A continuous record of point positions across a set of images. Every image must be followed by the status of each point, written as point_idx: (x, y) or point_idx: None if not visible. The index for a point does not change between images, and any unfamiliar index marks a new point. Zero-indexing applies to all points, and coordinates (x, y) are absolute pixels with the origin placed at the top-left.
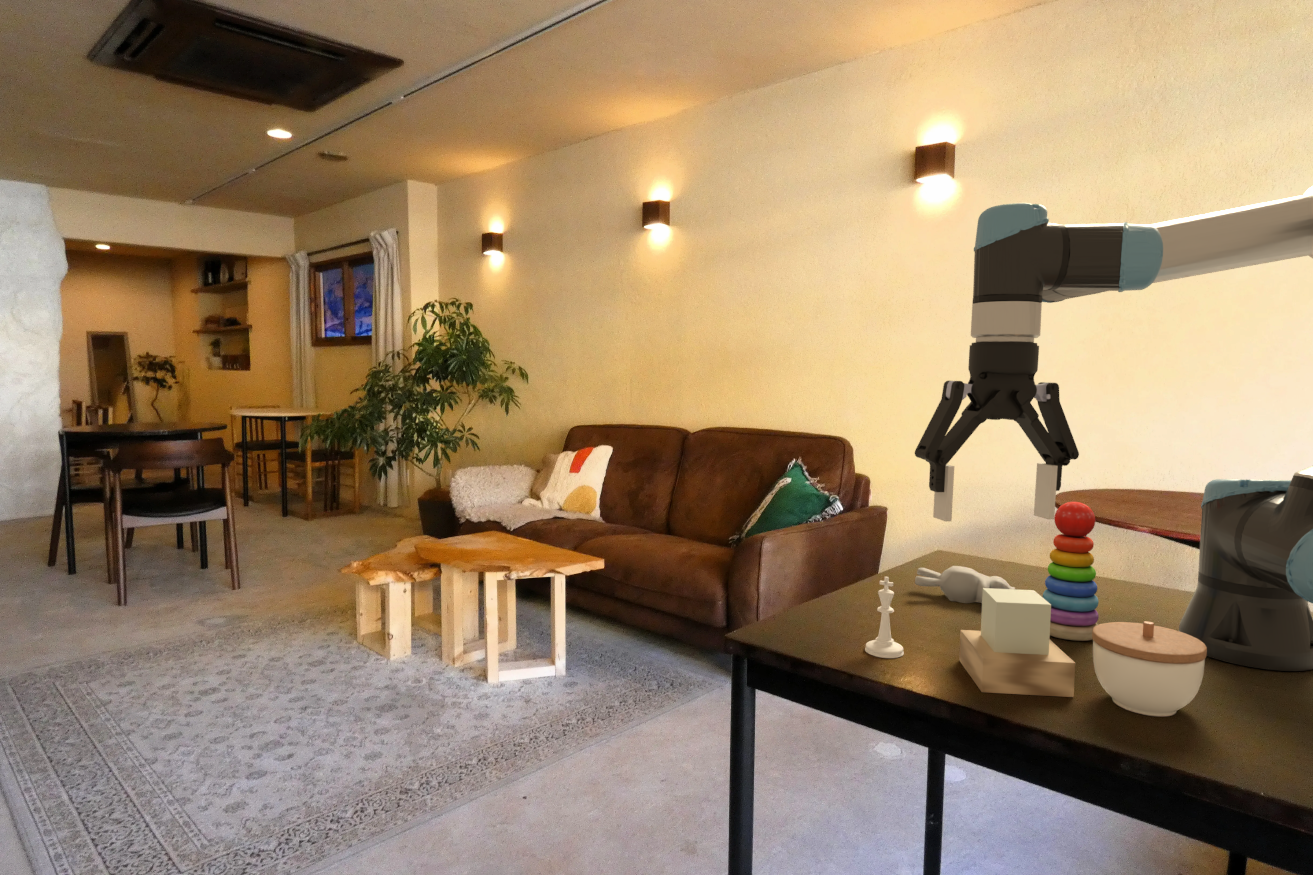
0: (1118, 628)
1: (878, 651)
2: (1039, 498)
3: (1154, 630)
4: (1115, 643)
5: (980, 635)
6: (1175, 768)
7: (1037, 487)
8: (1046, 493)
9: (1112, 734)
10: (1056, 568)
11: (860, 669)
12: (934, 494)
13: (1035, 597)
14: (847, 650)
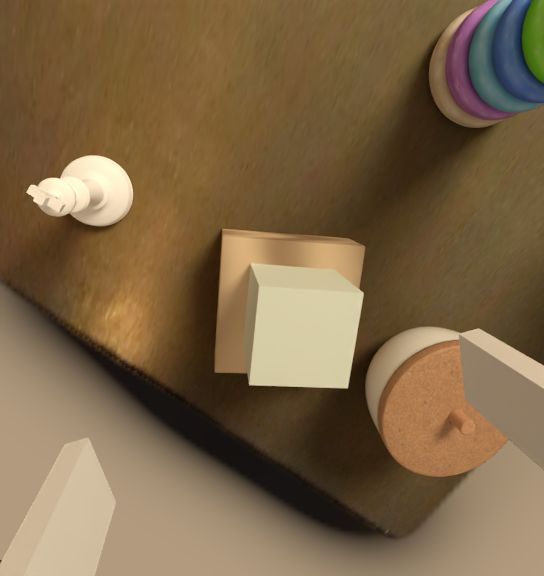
0: (433, 388)
1: (79, 220)
2: (504, 386)
3: None
4: (388, 446)
5: (249, 266)
6: (341, 502)
7: (537, 393)
8: (526, 434)
9: (322, 444)
10: (539, 45)
11: (43, 280)
12: (28, 513)
13: (340, 346)
14: (26, 189)
